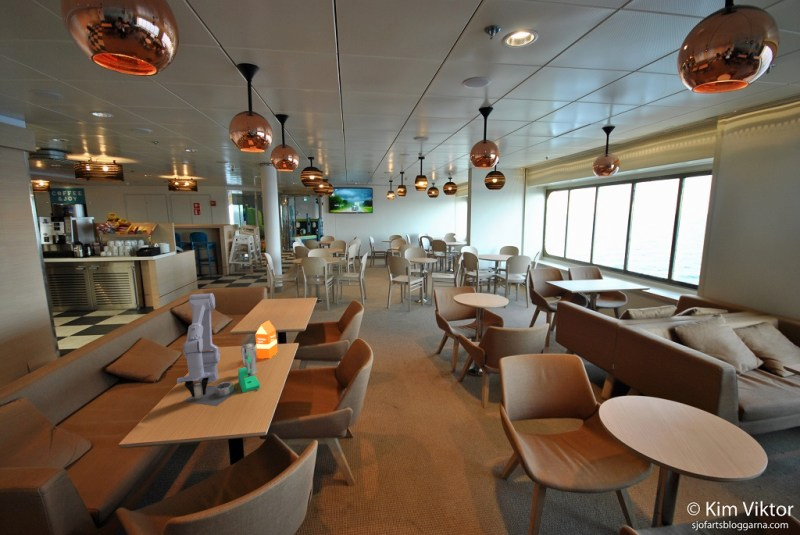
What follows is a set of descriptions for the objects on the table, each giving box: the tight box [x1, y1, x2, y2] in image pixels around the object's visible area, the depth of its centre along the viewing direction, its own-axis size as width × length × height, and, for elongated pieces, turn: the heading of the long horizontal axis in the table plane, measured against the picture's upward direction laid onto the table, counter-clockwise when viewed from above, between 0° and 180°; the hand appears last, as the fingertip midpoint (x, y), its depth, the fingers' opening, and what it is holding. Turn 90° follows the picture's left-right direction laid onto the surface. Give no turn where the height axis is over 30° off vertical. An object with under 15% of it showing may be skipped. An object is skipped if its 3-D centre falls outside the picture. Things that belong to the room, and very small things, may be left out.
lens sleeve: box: [214, 381, 235, 397], centre depth 150 cm, size 7×7×4 cm
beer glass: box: [240, 343, 258, 377], centre depth 171 cm, size 7×7×15 cm
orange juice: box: [254, 320, 278, 359], centre depth 192 cm, size 8×9×20 cm
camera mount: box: [237, 366, 261, 394], centre depth 157 cm, size 12×8×10 cm, turn 34°
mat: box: [183, 384, 241, 407], centre depth 149 cm, size 18×14×1 cm
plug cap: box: [193, 382, 204, 400], centre depth 147 cm, size 4×4×6 cm
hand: (199, 395), depth 147 cm, fingers closed on plug cap, 4 cm apart
